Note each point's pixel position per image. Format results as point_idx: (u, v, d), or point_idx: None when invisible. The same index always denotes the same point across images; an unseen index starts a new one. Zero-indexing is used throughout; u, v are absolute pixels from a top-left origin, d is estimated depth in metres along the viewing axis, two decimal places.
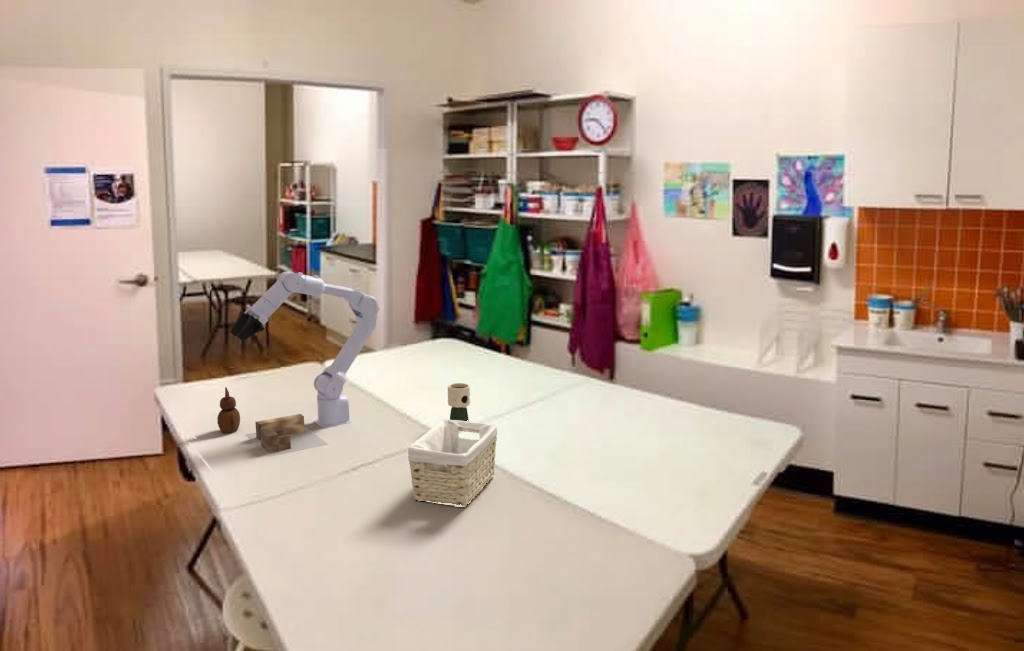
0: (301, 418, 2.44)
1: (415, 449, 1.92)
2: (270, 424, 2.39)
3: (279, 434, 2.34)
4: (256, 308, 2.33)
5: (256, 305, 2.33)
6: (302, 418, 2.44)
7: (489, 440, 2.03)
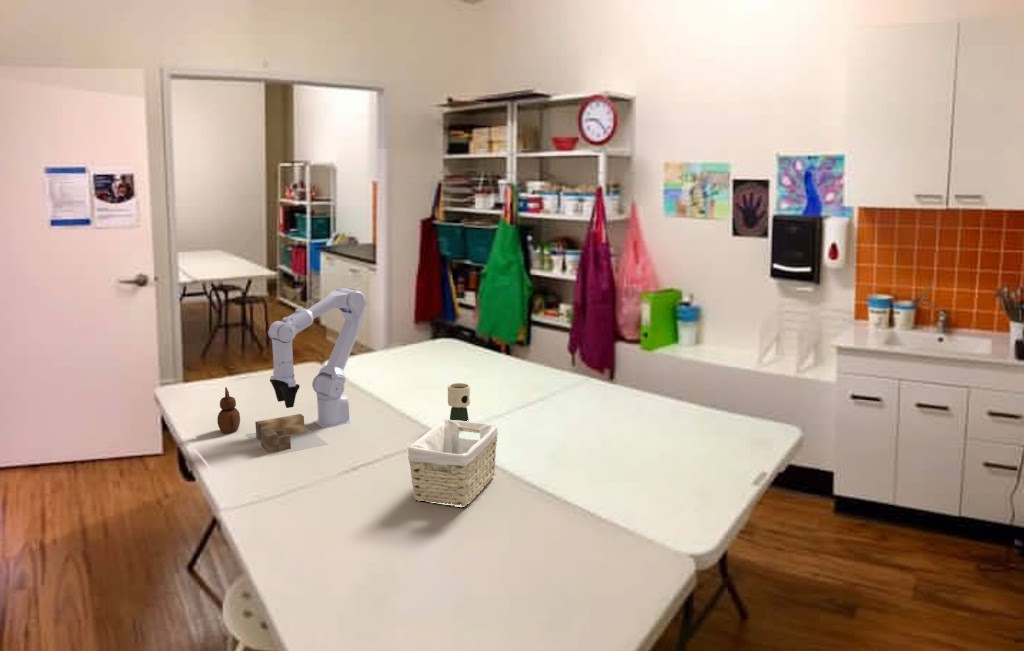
0: (301, 418, 2.44)
1: (415, 449, 1.92)
2: (270, 424, 2.39)
3: (279, 434, 2.34)
4: (278, 375, 2.37)
5: (276, 372, 2.37)
6: (302, 418, 2.44)
7: (489, 440, 2.03)
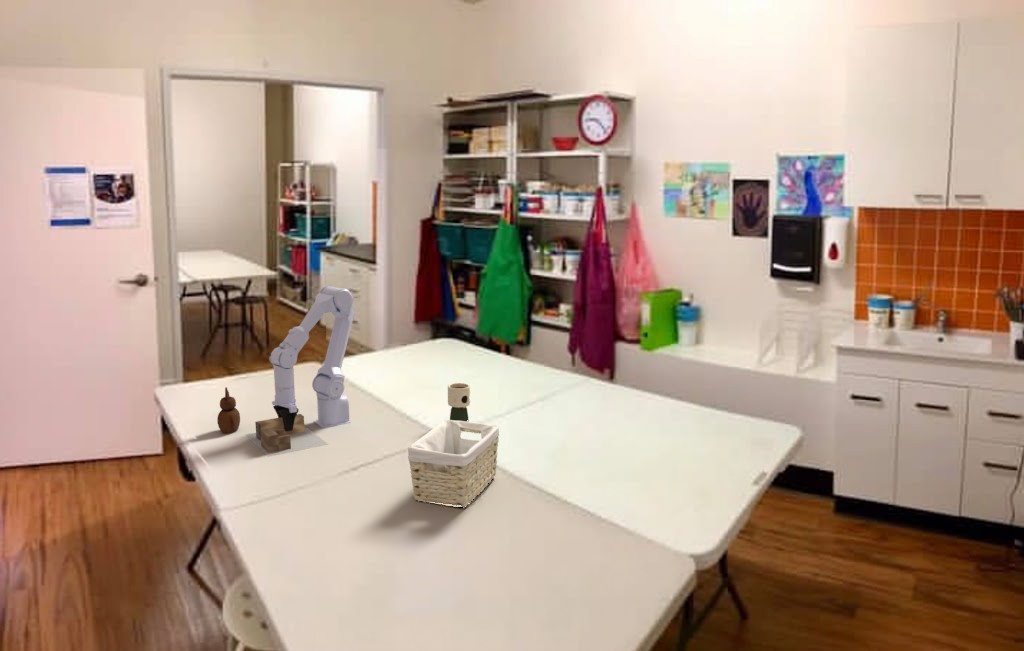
0: (301, 418, 2.44)
1: (415, 449, 1.92)
2: (270, 424, 2.39)
3: (279, 434, 2.34)
4: (280, 401, 2.39)
5: (277, 398, 2.39)
6: (302, 418, 2.44)
7: (490, 441, 2.03)
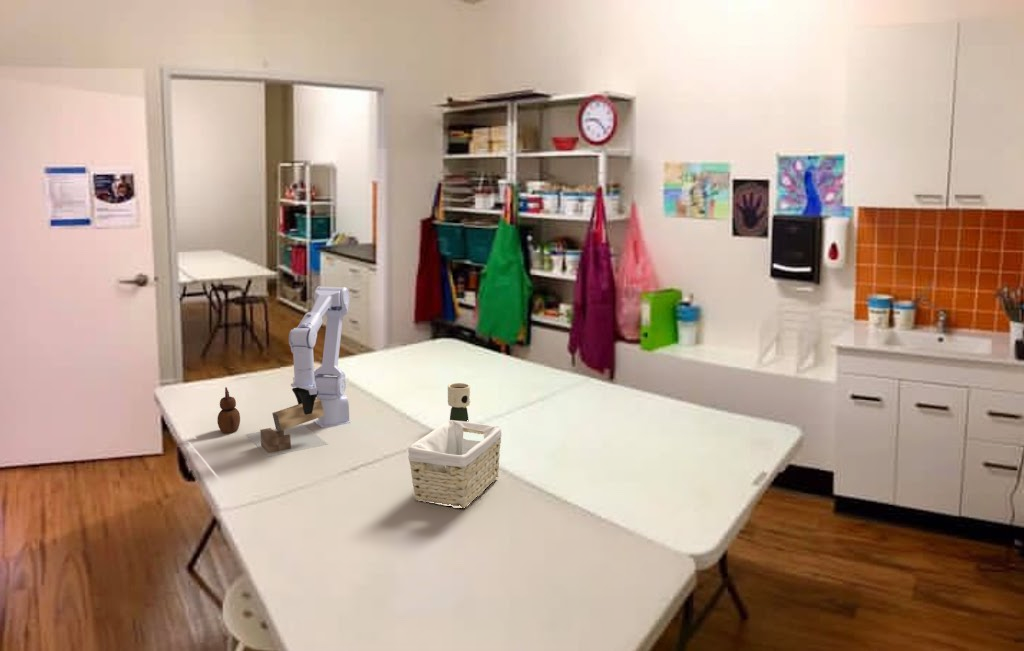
0: (318, 403, 2.36)
1: (415, 449, 1.92)
2: (287, 414, 2.31)
3: (279, 434, 2.34)
4: (299, 382, 2.31)
5: (297, 380, 2.31)
6: (319, 402, 2.36)
7: (492, 442, 2.02)
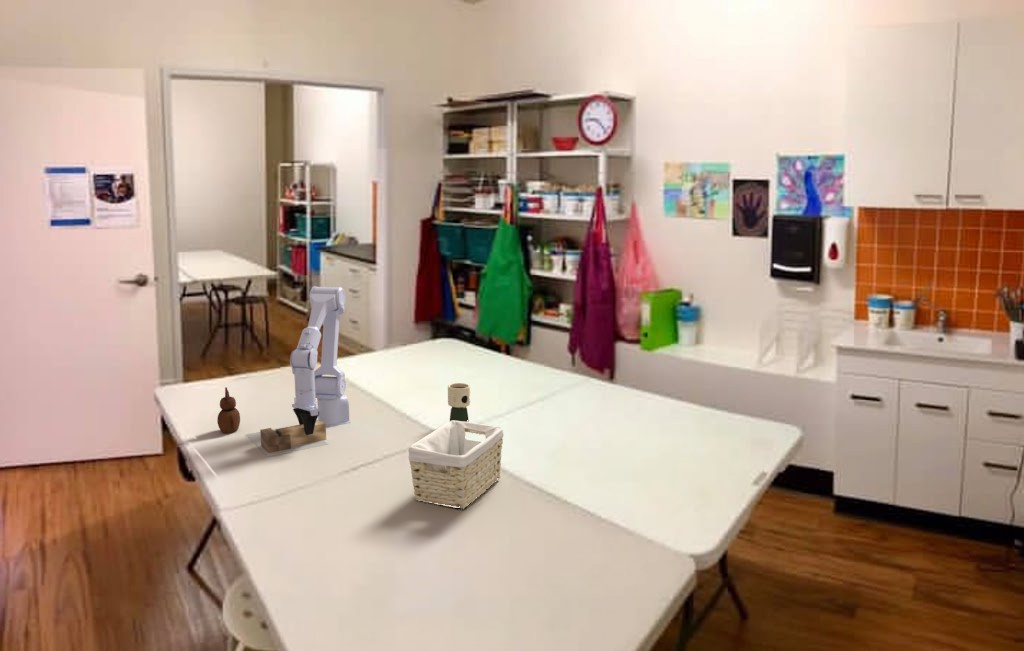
0: (323, 425, 2.38)
1: (415, 449, 1.92)
2: (291, 432, 2.32)
3: None
4: (300, 403, 2.32)
5: (298, 401, 2.32)
6: (324, 425, 2.38)
7: (493, 442, 2.02)
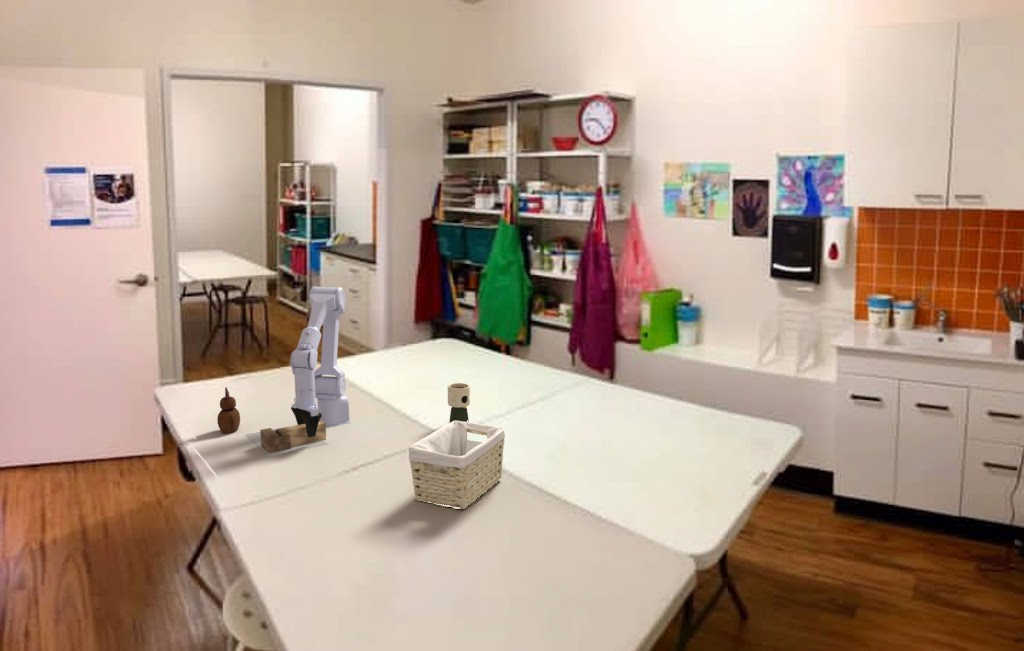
0: (323, 425, 2.38)
1: (415, 449, 1.92)
2: (291, 432, 2.32)
3: None
4: (300, 404, 2.32)
5: (298, 401, 2.32)
6: (324, 425, 2.38)
7: (494, 443, 2.01)
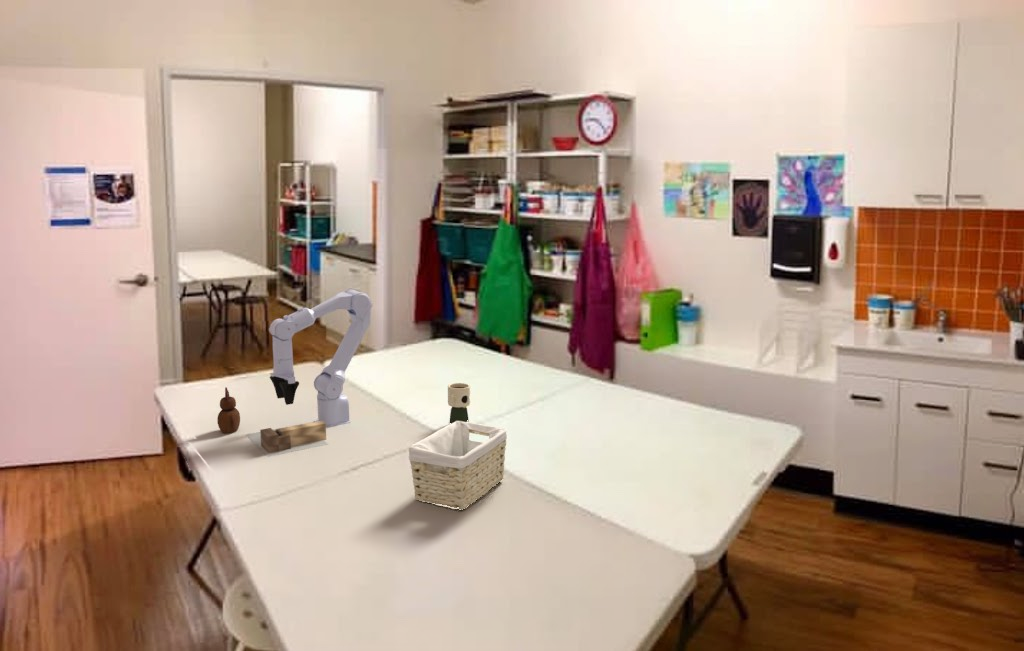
0: (323, 425, 2.38)
1: (415, 449, 1.92)
2: (291, 432, 2.32)
3: None
4: (278, 372, 2.40)
5: (276, 369, 2.40)
6: (324, 425, 2.38)
7: (495, 444, 2.00)
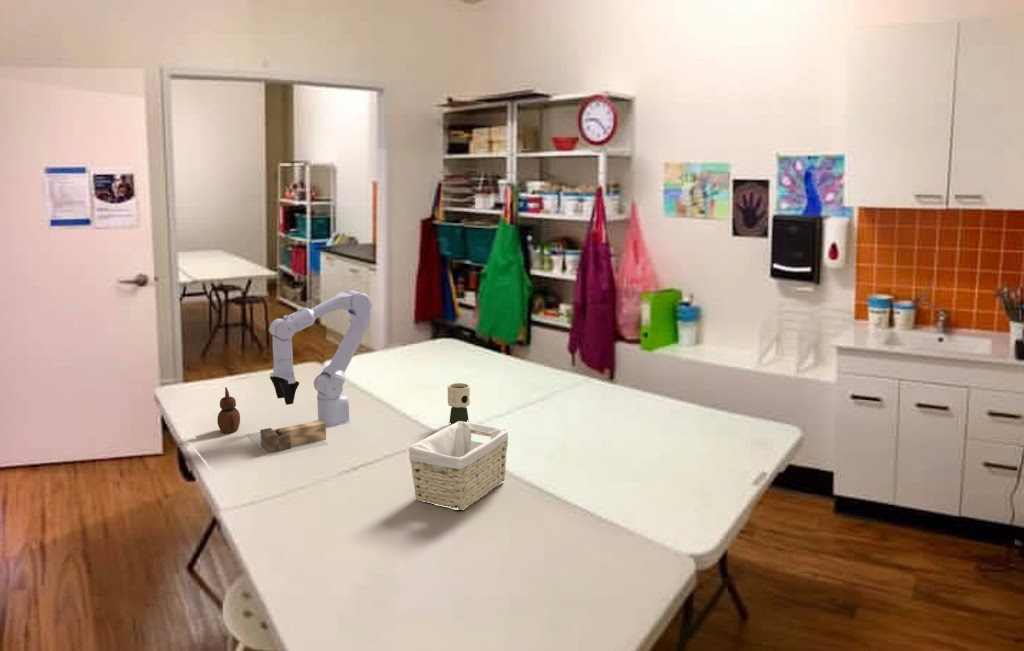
0: (323, 425, 2.38)
1: (415, 449, 1.92)
2: (291, 432, 2.32)
3: None
4: (278, 372, 2.40)
5: (276, 369, 2.40)
6: (324, 425, 2.38)
7: (495, 445, 2.00)
